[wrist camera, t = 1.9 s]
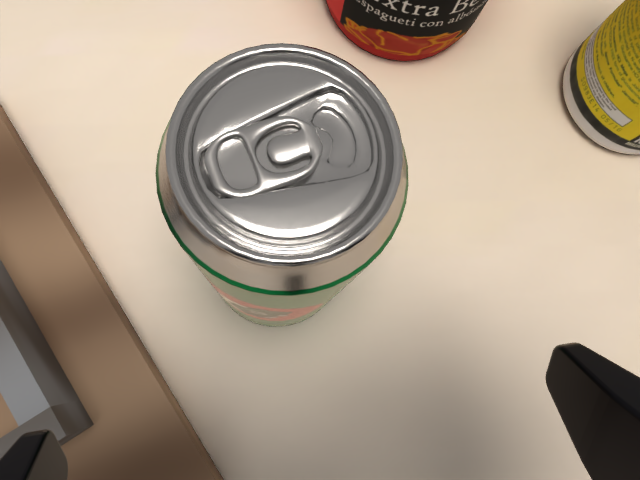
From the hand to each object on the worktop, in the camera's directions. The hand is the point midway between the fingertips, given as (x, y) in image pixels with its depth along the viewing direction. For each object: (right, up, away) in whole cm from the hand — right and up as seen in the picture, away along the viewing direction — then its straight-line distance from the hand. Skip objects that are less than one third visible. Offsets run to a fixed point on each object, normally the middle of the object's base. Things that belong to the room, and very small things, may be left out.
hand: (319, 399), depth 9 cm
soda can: (-2, +2, +12) cm, 12 cm away
